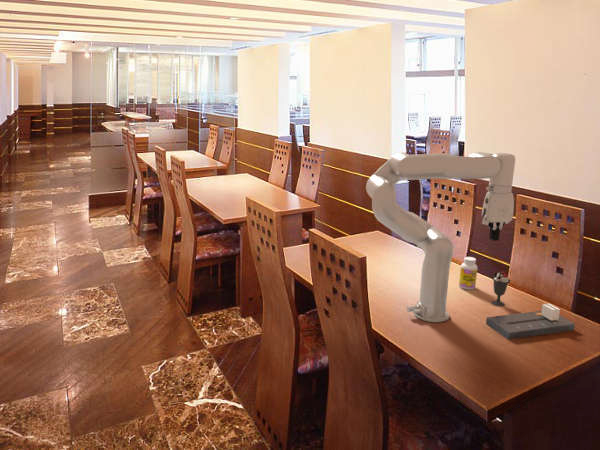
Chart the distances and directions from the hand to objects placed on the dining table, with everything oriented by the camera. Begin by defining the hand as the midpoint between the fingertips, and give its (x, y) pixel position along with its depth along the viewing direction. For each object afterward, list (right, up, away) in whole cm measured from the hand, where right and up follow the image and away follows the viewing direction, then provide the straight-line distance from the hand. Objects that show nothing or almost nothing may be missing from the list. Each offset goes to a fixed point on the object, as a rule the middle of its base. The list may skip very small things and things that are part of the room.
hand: (493, 239), depth 176 cm
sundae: (+8, -26, +17) cm, 32 cm away
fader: (+20, -28, -1) cm, 34 cm away
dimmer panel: (+12, -31, -2) cm, 33 cm away
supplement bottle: (+2, -21, +33) cm, 40 cm away
